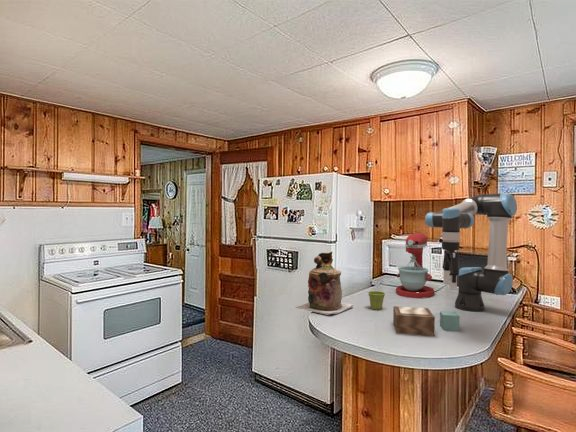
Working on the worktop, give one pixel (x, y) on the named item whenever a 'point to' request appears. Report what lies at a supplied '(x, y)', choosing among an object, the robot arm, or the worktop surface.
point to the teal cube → (449, 320)
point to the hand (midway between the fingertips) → (449, 286)
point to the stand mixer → (414, 270)
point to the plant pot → (376, 299)
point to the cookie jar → (325, 288)
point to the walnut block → (413, 320)
